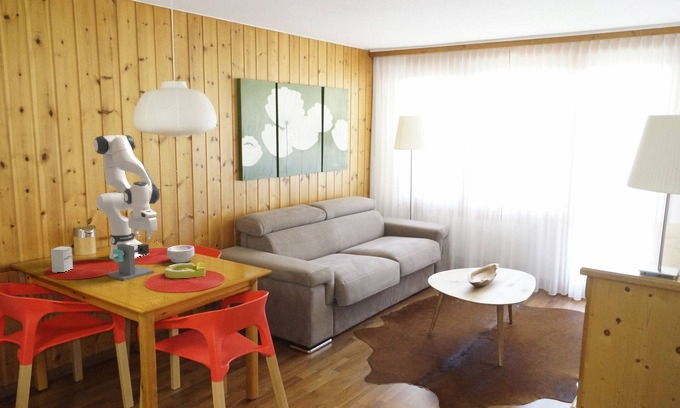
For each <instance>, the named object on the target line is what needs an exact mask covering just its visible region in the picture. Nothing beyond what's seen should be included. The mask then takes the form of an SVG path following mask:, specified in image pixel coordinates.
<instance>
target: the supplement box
mask: <svg viewBox="0 0 680 408" xmlns="http://www.w3.org/2000/svg"><path fill="white" fill-rule="evenodd" d="M50 255H51V256H50V257H51V258H50V259H51V271H52V273H57V272H65V271H67V272H69V271H68V270H70V269H73V270H74V264H73V248H72V246H61V245H60V246H57V247H54V248H52V249H50ZM70 271H71V270H70ZM65 273H66V272H65Z"/></svg>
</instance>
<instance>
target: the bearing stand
mask: <svg viewBox="0 0 680 408" xmlns="http://www.w3.org/2000/svg"><path fill="white" fill-rule="evenodd" d="M117 249H118V250H122V251H123V252H125V255H123V260H124V261H123V262H118V261H117V263H118V264H117V265H118V270H117V271H113V272H110V273H109V272H108V273H107V277H111V278H114V279H117V280H120V281H127V280H132V279H135V278H139V277H142V276H146V275H150V274H154V273H155V270H154V269H150V268H147V267H142V266H139V265H136V262H135V261H136V260H135V259H136V258H135V256H134V246H130V245H126V244H119V245H117Z"/></svg>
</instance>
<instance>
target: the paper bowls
mask: <svg viewBox="0 0 680 408" xmlns="http://www.w3.org/2000/svg"><path fill="white" fill-rule="evenodd" d="M166 256H167V258H168V259H170V260H171V262H173V263H175V264H182V263H188V262H190V261H191V260H192V257H194V256H195V246H193V245H189V244H184V245H183V244H180V245H174V246H170V247H168V248H167V249H166Z"/></svg>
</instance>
